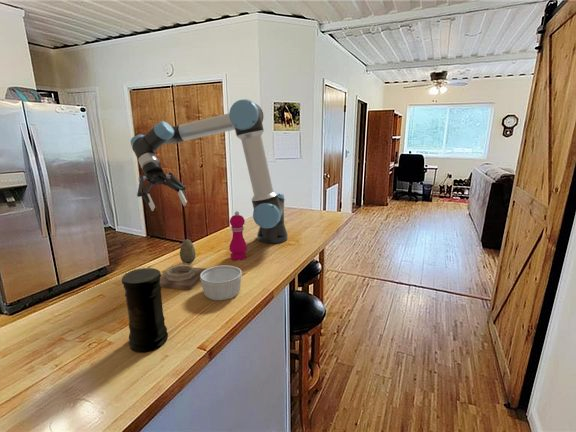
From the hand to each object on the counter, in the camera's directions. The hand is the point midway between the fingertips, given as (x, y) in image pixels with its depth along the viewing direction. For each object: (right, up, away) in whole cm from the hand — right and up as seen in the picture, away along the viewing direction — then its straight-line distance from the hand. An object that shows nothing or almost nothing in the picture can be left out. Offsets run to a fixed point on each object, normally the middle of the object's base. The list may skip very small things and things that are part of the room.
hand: (170, 206), depth 128 cm
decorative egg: (+8, -23, -2) cm, 25 cm away
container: (+13, -35, -50) cm, 62 cm away
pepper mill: (+27, -22, +4) cm, 35 cm away
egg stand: (+10, -26, -16) cm, 32 cm away
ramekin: (+27, -29, -25) cm, 47 cm away
